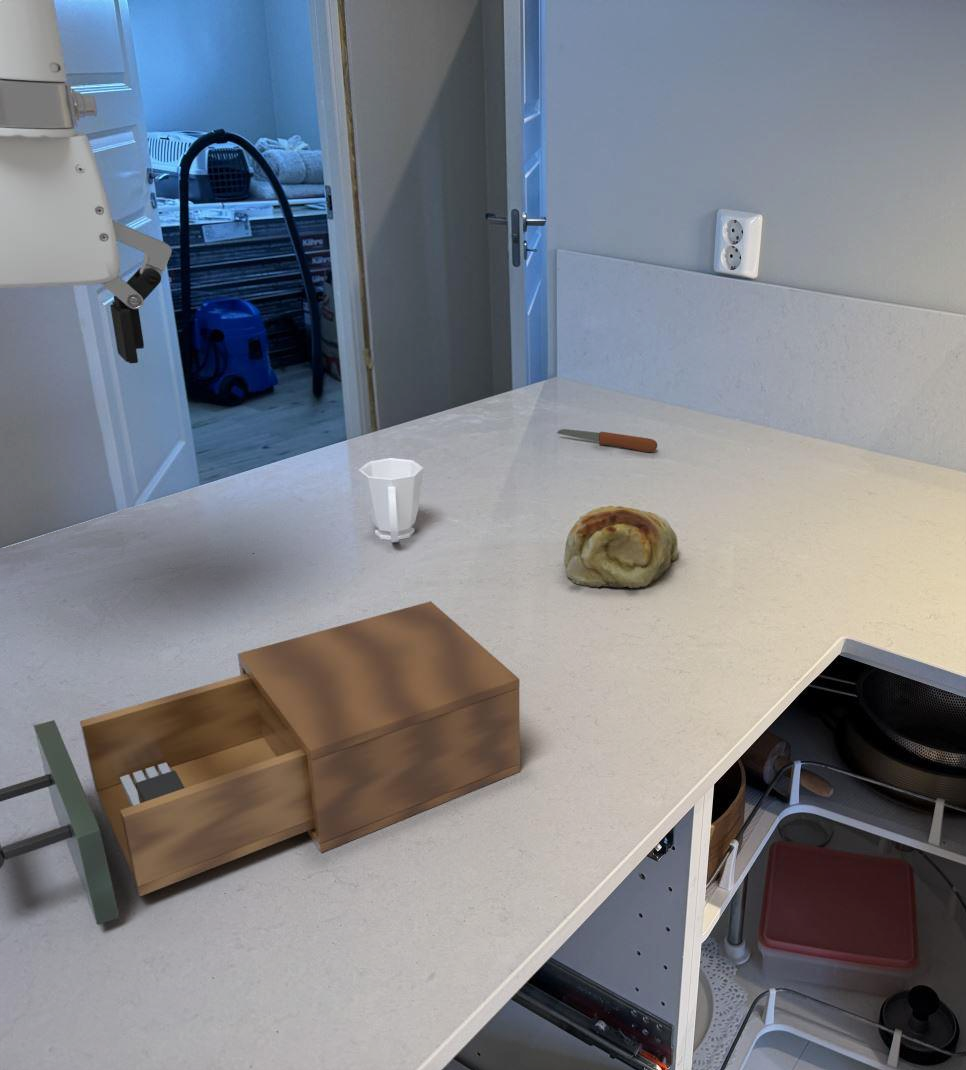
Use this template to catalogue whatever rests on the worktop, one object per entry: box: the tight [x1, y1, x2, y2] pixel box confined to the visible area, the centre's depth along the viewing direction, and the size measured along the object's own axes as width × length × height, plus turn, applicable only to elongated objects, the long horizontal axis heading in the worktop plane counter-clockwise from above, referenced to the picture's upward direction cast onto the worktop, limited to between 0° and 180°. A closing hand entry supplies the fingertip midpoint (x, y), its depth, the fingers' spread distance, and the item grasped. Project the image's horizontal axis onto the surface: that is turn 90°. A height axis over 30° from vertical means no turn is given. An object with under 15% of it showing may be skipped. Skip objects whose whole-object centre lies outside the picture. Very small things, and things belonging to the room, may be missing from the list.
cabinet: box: [237, 600, 521, 853], centre depth 76 cm, size 16×15×9 cm
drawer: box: [0, 674, 315, 926], centre depth 66 cm, size 20×13×7 cm
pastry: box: [563, 505, 679, 589], centre depth 110 cm, size 14×12×8 cm
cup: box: [358, 457, 424, 543], centre depth 113 cm, size 7×10×8 cm
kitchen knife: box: [556, 428, 658, 453], centre depth 149 cm, size 16×1×2 cm, turn 78°
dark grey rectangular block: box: [120, 762, 184, 806], centre depth 67 cm, size 10×3×3 cm, turn 41°
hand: (53, 365), depth 72 cm, fingers open, 9 cm apart
